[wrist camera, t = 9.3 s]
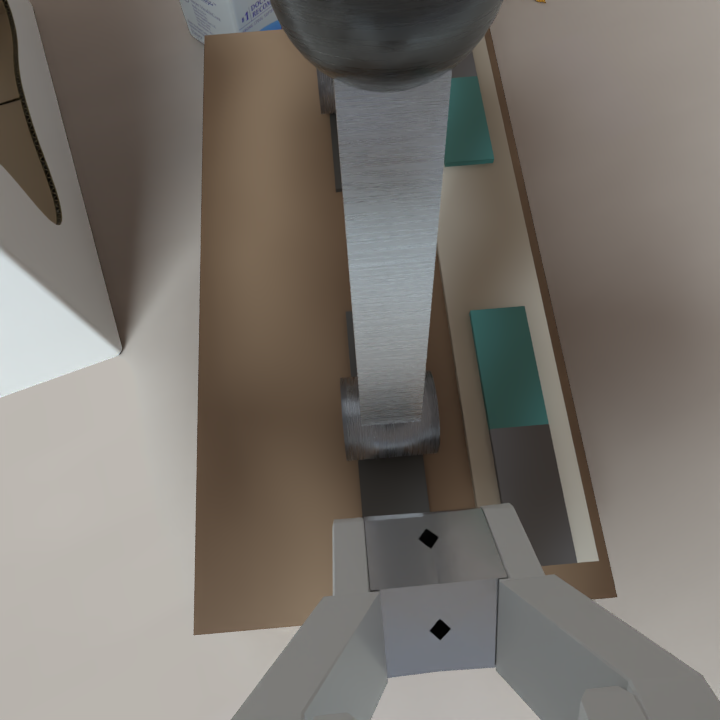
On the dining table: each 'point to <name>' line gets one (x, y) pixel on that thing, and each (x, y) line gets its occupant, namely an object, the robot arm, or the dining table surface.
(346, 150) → the lever
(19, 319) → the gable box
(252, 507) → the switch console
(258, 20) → the medicine box
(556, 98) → the dining table surface
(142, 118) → the dining table surface
